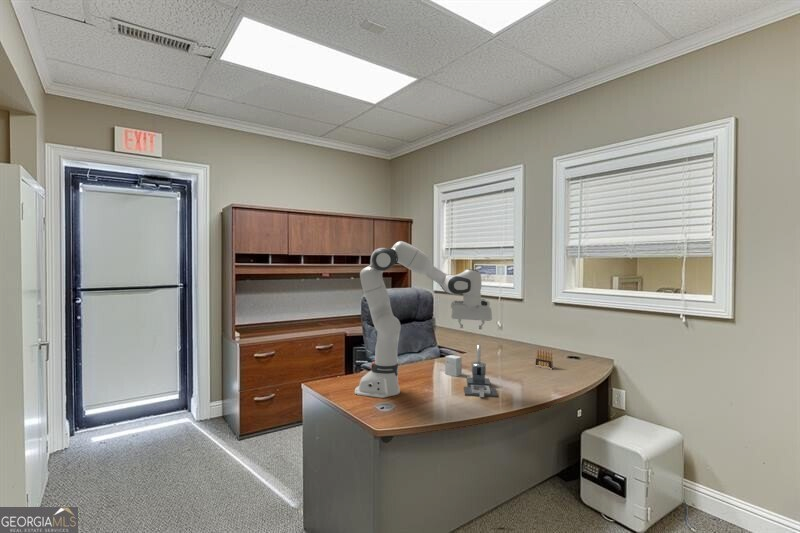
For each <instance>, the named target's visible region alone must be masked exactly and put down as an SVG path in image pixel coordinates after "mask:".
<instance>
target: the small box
mask: <svg viewBox="0 0 800 533" xmlns="http://www.w3.org/2000/svg"><path fill="white" fill-rule="evenodd" d="M444 358H445V362H444V363H445V364H444V365H445V366H444V368H445V370H444V371H445V372H444V374H445V375H448V376H451V377H456V378H457V377H459V376H462V374H463V372H462V371H463V369H462V368H463V366H462V365H463V364H462V363H463V361H462V360H463V359H462V356H457V355H454V354H453V355H452V354H449V355H446V356H445V357H444Z"/></svg>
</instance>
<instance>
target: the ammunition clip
mask: <svg viewBox="0 0 800 533" xmlns="http://www.w3.org/2000/svg"><path fill="white" fill-rule="evenodd" d="M535 356H536V357H535V365H541V366H547V367H550V368H552V367H553V368H554V363H553V352H552V350H549V349H546V348H545V349H544V348H538V347H537V348H536V354H535Z"/></svg>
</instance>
